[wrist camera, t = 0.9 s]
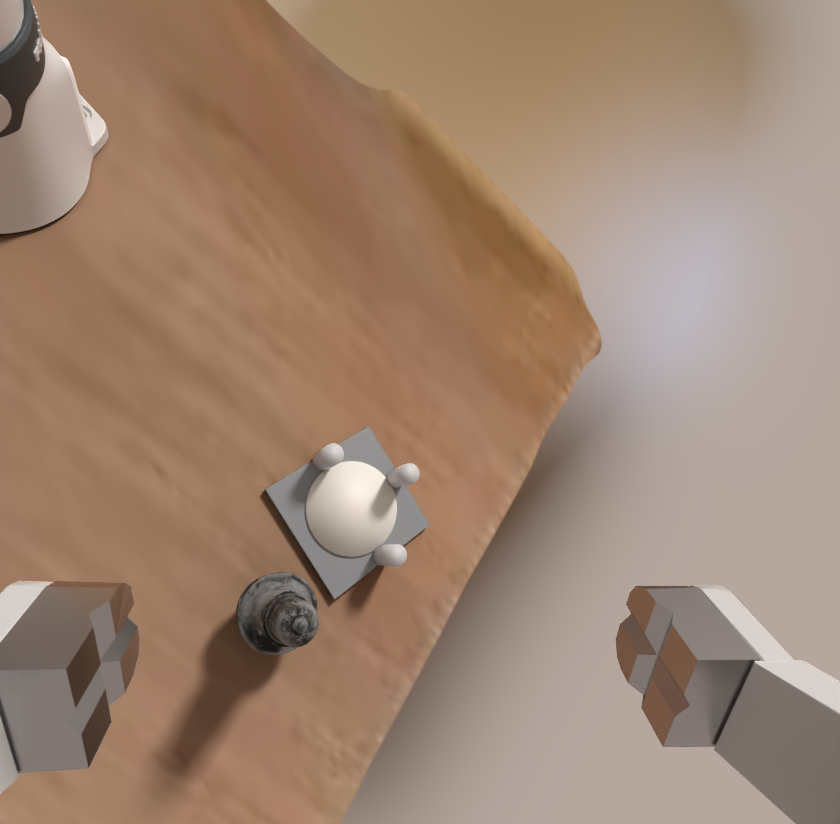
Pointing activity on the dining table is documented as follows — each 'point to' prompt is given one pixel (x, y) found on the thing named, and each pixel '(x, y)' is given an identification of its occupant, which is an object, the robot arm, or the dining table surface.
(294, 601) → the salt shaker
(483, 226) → the dining table surface
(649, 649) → the robot arm
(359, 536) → the pin socket board
